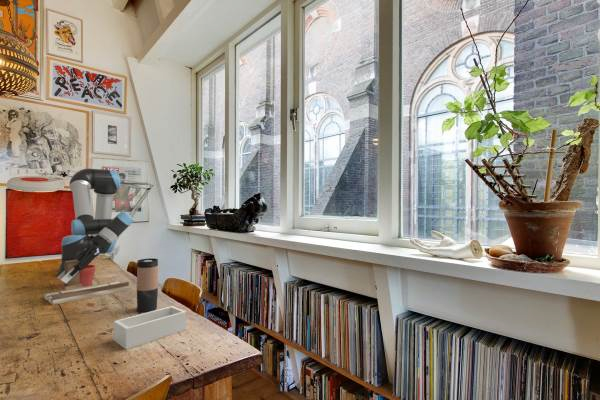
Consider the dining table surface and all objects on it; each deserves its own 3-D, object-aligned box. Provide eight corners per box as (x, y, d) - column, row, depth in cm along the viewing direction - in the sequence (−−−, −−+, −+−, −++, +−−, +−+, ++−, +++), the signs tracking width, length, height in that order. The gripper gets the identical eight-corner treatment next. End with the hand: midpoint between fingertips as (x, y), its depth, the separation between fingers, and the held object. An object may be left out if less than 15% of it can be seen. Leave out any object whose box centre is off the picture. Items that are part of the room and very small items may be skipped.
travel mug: (161, 306, 130) (161, 258, 130) (150, 313, 122) (151, 262, 123) (143, 306, 131) (144, 258, 131) (132, 312, 123) (132, 261, 123)
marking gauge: (61, 287, 140) (61, 260, 140) (77, 285, 144) (77, 259, 144) (65, 290, 136) (66, 262, 136) (82, 287, 140) (82, 260, 140)
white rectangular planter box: (113, 340, 99) (113, 321, 99) (172, 322, 114) (172, 305, 114) (126, 349, 93) (126, 329, 93) (186, 329, 108) (186, 311, 108)
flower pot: (85, 288, 156) (86, 269, 156) (64, 288, 156) (64, 268, 157) (99, 283, 167) (100, 264, 167) (79, 282, 167) (79, 264, 167)
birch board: (44, 298, 140) (44, 289, 140) (117, 285, 163) (117, 277, 163) (52, 305, 131) (52, 295, 131) (128, 290, 154) (128, 282, 154)
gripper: (117, 245, 146) (75, 289, 133) (103, 242, 157) (63, 282, 144) (104, 235, 142) (60, 278, 129) (91, 232, 153) (48, 272, 140)
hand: (61, 280), depth 137 cm, fingers closed on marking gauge, 4 cm apart
